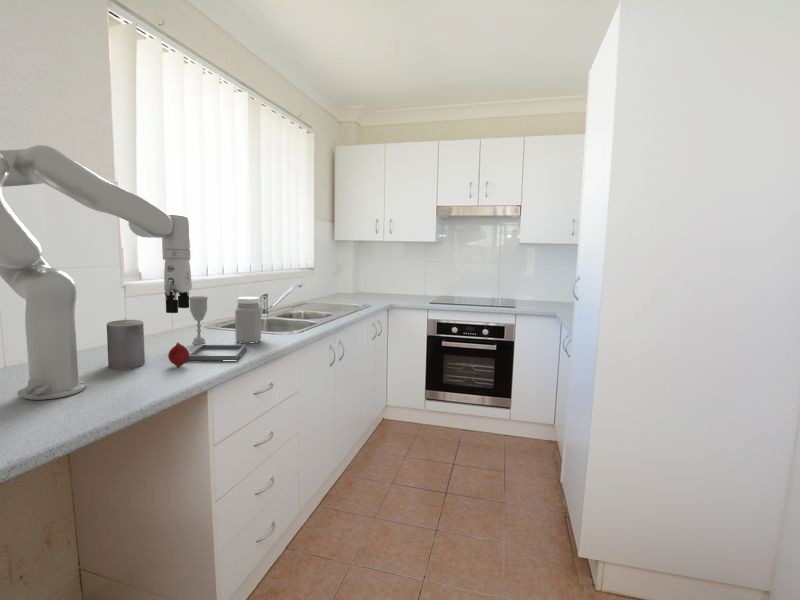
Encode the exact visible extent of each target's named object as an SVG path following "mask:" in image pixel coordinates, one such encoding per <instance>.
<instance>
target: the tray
mask: <svg viewBox="0 0 800 600" xmlns="http://www.w3.org/2000/svg"><path fill="white" fill-rule="evenodd" d="M245 350H246V351H247V344H222V343H221V344H220V343H219V344H217V343H213V344H210V343H209V344H206V343H204V344H198V346H197V347H195V348H194V349H192V350H190V351H189V359H188V360H187V361H223V360H237V359H238V358H239V357H240V355H241V354H242V353H243V352H244V351H245ZM246 351H245V352H246ZM245 352H244V353H245ZM244 353H243V354H244ZM243 354H242V355H243ZM240 358H241V357H240ZM240 358H239V359H240ZM239 359H238V360H239ZM238 360H237V361H238Z"/></svg>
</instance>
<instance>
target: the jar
mask: <svg viewBox="0 0 800 600" xmlns="http://www.w3.org/2000/svg"><path fill="white" fill-rule="evenodd" d="M236 301H237V307H236V308H235V313H234V314H235V340H236V341H237V343H239V342H241V343H240V344H243V343H250V342H256V341H258V342H260V341H261V339H262V308H261V307H260V304H259V303H260V297H258V296H249V295H248V296H239V297H237V299H236ZM256 343H257V342H256ZM250 344H251V343H250Z"/></svg>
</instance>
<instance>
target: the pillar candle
mask: <svg viewBox="0 0 800 600" xmlns="http://www.w3.org/2000/svg"><path fill="white" fill-rule="evenodd" d="M144 329H145V328H144V321H142V320H140V319H126V317H125V318H124V319H121V320H114V321H113V320H112V321H109V322H107V323H106V341H107V342H106V343H107V365H108V368H109V369H111V368H112V369H111V370H128V369H130V368H131V369H134V368H137V367H141V366H143V365H145V363H146V360H145V359H146V358H145V357H146V355H145V334H144V333H145V331H144Z"/></svg>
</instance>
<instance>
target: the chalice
mask: <svg viewBox="0 0 800 600" xmlns="http://www.w3.org/2000/svg"><path fill="white" fill-rule="evenodd" d="M208 299H209V296H205V295H204V296H203V295H202V296H201V295H200V296H199V295H197V296H195V295H194V296H189V312H190V314H191V316H192V318H193V320H194V321H196V322H197V325H196V327H197V329H196V332H197V335H196V336H195V337H194V338H193V340H192V342H191V343H192V345H201V344H203V343H204V344H206V343H207V341H206V339H205V337H204V336H202V335H201V332H202V329H201V327H202V325H201V321H203V320H204V318H205V317H206V314H207V311H208Z"/></svg>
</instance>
